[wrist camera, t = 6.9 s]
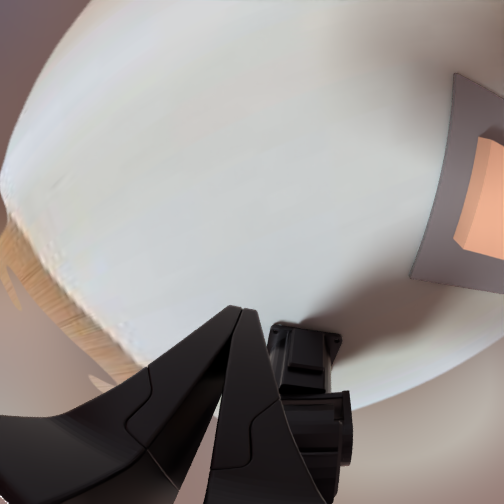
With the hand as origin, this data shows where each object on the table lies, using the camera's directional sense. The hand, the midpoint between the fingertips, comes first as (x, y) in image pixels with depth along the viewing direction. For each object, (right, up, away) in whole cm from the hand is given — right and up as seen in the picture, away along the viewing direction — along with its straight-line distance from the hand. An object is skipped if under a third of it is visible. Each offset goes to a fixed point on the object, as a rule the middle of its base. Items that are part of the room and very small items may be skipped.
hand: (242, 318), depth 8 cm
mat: (+19, +6, +7) cm, 21 cm away
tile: (+16, +6, +6) cm, 18 cm away
